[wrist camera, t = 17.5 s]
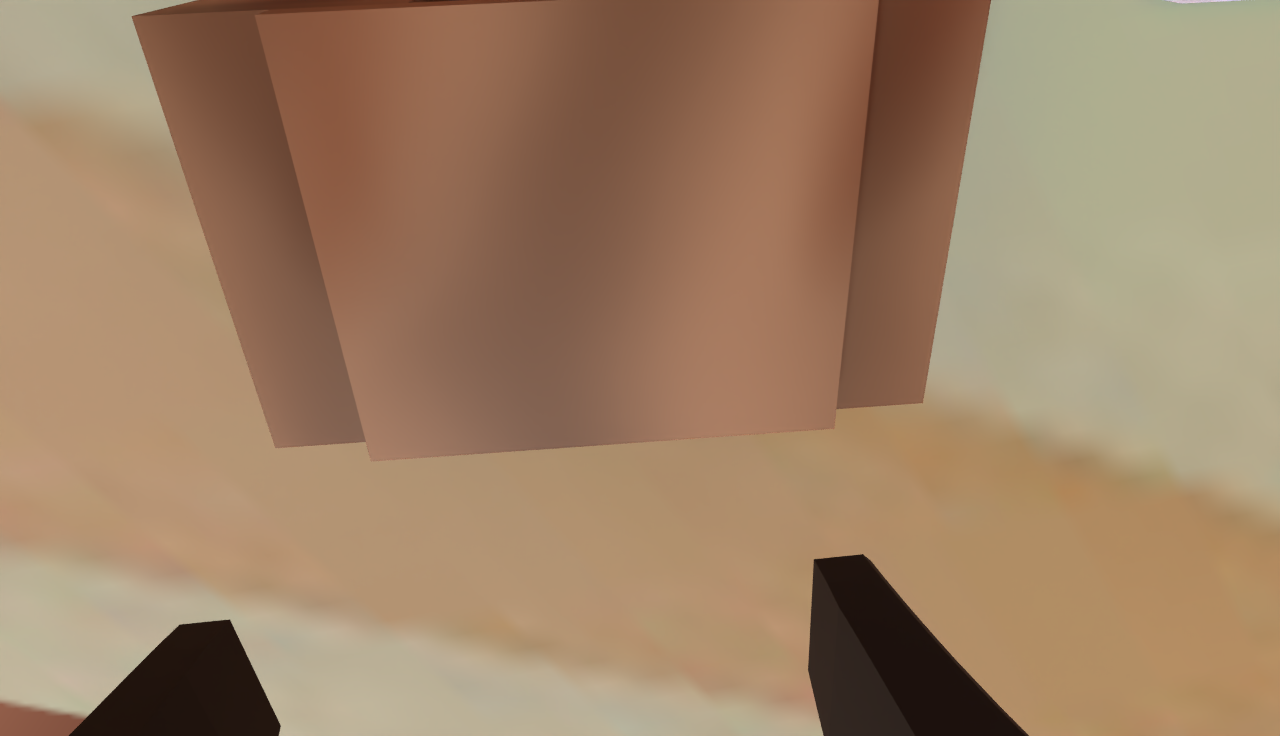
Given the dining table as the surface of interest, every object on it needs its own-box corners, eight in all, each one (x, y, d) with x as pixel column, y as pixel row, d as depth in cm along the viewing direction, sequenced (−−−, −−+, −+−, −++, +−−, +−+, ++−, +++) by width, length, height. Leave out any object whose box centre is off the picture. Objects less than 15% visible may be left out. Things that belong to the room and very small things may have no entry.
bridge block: (944, -497, 12) (1167, -743, 7) (848, 369, 19) (929, 508, 15) (121, -477, 11) (-177, -726, 7) (353, 403, 19) (283, 557, 14)
